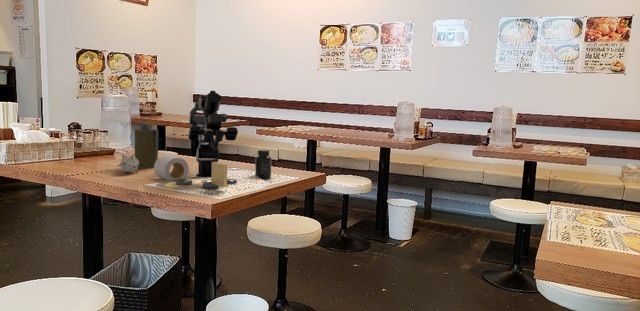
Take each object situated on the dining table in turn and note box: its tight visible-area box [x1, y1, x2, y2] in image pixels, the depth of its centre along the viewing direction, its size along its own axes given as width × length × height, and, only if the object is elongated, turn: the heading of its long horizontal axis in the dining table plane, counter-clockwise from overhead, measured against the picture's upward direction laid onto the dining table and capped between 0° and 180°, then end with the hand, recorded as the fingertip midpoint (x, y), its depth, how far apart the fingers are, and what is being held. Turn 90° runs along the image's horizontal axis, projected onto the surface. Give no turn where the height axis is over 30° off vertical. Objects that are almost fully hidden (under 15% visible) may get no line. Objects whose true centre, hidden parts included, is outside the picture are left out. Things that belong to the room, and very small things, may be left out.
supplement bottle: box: [254, 149, 272, 180], centre depth 210 cm, size 7×7×12 cm
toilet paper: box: [153, 154, 190, 181], centre depth 194 cm, size 10×10×10 cm
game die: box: [117, 153, 141, 175], centre depth 207 cm, size 9×8×10 cm
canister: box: [133, 122, 159, 169], centre depth 224 cm, size 11×10×20 cm
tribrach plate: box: [175, 178, 238, 186], centre depth 186 cm, size 18×20×2 cm
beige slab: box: [202, 161, 228, 190], centre depth 176 cm, size 11×6×10 cm, turn 50°
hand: (215, 150), depth 191 cm, fingers closed
